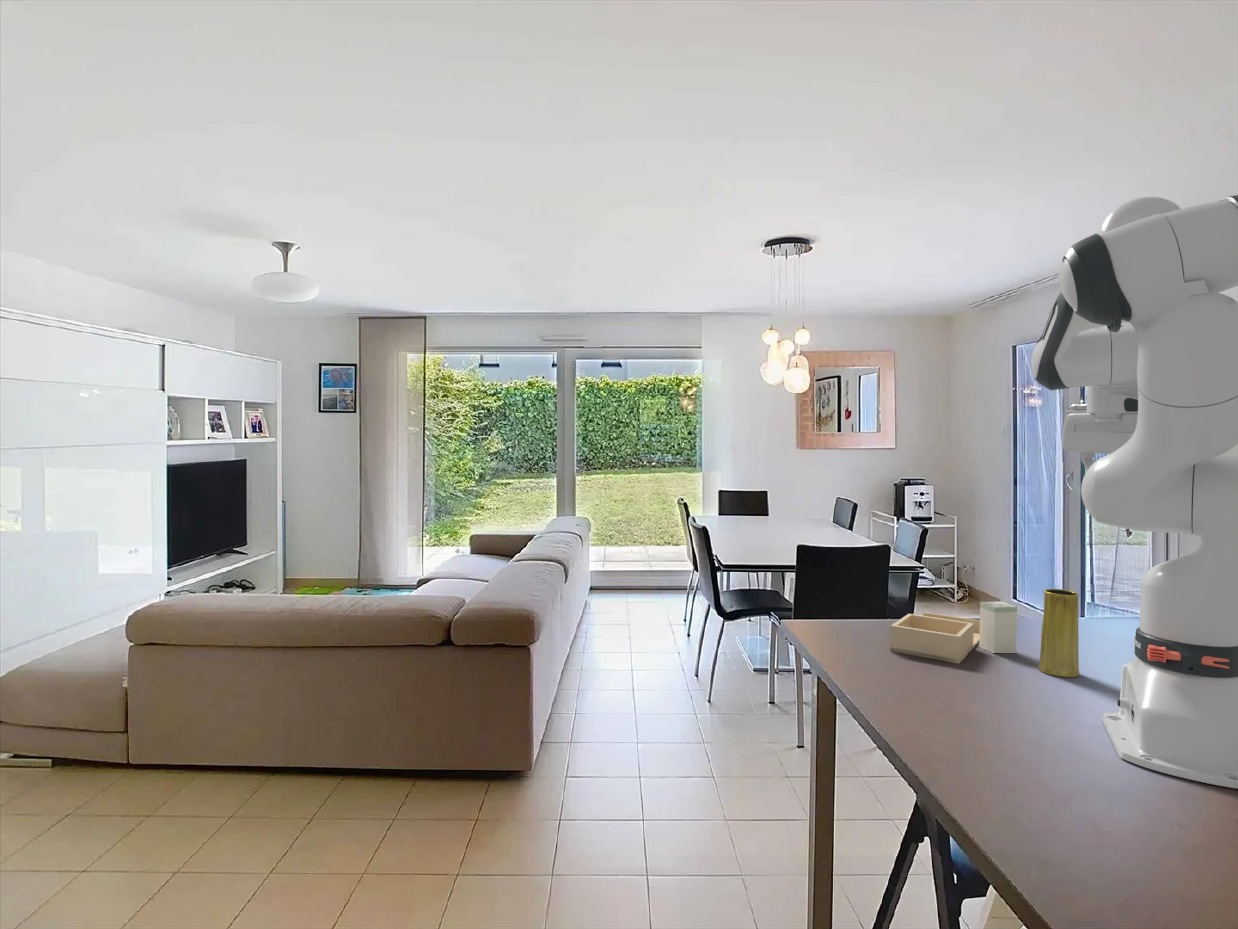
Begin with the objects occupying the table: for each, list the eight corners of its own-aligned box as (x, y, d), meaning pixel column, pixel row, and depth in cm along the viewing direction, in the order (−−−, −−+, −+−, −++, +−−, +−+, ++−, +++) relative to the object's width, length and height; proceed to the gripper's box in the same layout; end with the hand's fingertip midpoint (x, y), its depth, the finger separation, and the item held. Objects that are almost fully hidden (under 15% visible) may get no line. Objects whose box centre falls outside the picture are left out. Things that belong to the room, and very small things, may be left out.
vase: (1067, 667, 127) (1070, 588, 127) (1086, 678, 121) (1089, 596, 121) (1032, 666, 128) (1034, 587, 127) (1049, 677, 122) (1051, 595, 121)
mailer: (959, 663, 129) (959, 636, 129) (890, 651, 136) (890, 625, 136) (985, 635, 148) (985, 611, 148) (923, 625, 156) (924, 603, 155)
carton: (1015, 653, 136) (1016, 607, 135) (993, 654, 135) (994, 607, 135) (1000, 646, 140) (1001, 601, 140) (979, 647, 140) (980, 601, 139)
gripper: (1052, 405, 137) (1054, 476, 138) (1157, 401, 117) (1158, 484, 118) (1078, 403, 138) (1079, 473, 139) (1186, 399, 119) (1187, 481, 120)
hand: (1116, 478), depth 129 cm, fingers open, 8 cm apart
